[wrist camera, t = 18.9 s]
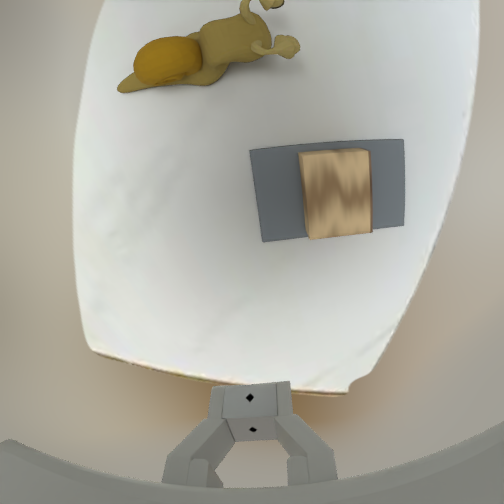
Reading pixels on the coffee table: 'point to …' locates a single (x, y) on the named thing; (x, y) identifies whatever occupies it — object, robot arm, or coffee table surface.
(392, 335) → the coffee table surface
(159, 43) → the toy
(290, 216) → the mat
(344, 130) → the coffee table surface
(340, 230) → the slab
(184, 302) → the coffee table surface
